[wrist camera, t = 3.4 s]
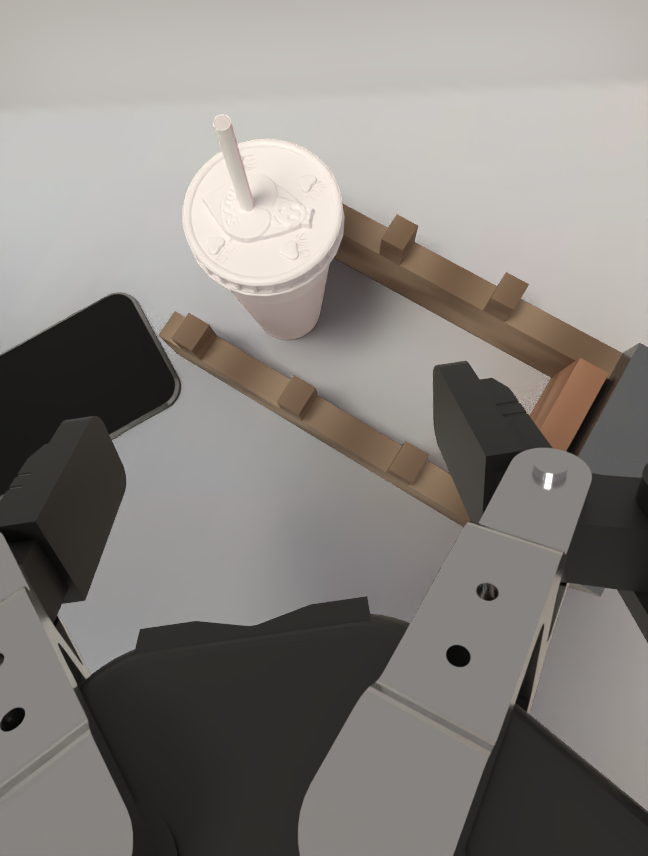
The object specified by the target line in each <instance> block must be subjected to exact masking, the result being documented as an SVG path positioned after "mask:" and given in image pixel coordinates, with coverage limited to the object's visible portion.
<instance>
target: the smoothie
mask: <svg viewBox="0 0 648 856" xmlns="http://www.w3.org/2000/svg"><path fill="white" fill-rule="evenodd" d="M213 126H214V129H215V132H216V135H217V138H218V141H219V144H220V147H221V150H222V151H221V152H219V153H218V154H216V155H215V156H213V157H212V158H211V159H210V160H208V161H207V162H206V163H205V164H204V165H203V166H202V167H201V169H200V170H199V171H198V172H197V174H196V175H195V176H194V178H193V180H192V181H191V183H190V185H189V187H188V190H187V192H186V195H185V199H184V203H183V211H182V220H183V228H184V233H185V236H186V239H187V241H188V244H189V246H190V248H191V250H192V252H193V255H194V257H195V259H196V261H197V263H198V264H199V266H200V267H201V268H202V269H203V270H204V271H205V272H206V274H207V275H208V276H209V277H210V278H211V279H213V280H214V281H216V282H217V283H219V284H220V285H222V286H223V287H225V288H226V289H228V290H230V291H231V292H232V293H233V294H234V296H235V297H236V298H237V299H238V300H239V301H240V303H241V304H242V305H243V306H244V307H245V308H246V309H247V311H248V312H249V313H250V314H251V315H252V316H253V318H254V319H255V320H256V321H257V322H258V323H259V325H260V326H261V327H262V328H263V329H264V330H265V331H266V332H267V333H268V334H270V335H271V336H273V337H275V338H278V339H283V340H292V339H297V338H300V337H302V336H304V335H306V334H307V333H309V332H310V331H311V330H312V329H313V328H314V326H315V325H316V323H317V321H318V319H319V316H320V312H321V306H322V301H323V296H324V291H325V285H326V280H327V275H328V270H329V264H330V262H331V261H332V259H333V258H334V257H335V255H336V253H337V251H338V248H339V245H340V243H341V240H342V237H343V231H344V218H345V216H344V211H343V207H342V197H341V193H340V189H339V186H338V184H337V181H336V179H335V177H334V175H333V174H332V172H331V171H330V169H329V168H328V167H327V166H326V164H325V163H324V162H323V161H322V160H321V159H320V158H318V157H317V156H316V155H315V154H313V153H312V152H310V151H309V150H307V149H305V148H303V147H301V146H299V145H296V144H294V143H291V142H287V141H282V140H276V139H256V140H249V141H245V142H241V143H238V144H237V141H236V137H235V134H234V130H233V127H232V123H231V120H230V118H229V117H228V116H227V115H218V116H217V117H215V118H214V120H213Z"/></svg>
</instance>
